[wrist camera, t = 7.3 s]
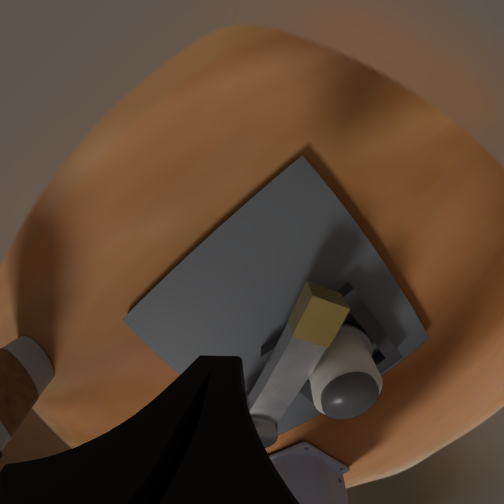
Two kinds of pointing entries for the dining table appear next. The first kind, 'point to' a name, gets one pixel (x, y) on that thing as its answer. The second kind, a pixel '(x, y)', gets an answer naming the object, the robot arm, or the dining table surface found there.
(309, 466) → the robot arm
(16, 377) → the coffee cup
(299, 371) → the clip
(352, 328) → the plug
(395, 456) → the dining table surface
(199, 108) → the dining table surface
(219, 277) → the panel
